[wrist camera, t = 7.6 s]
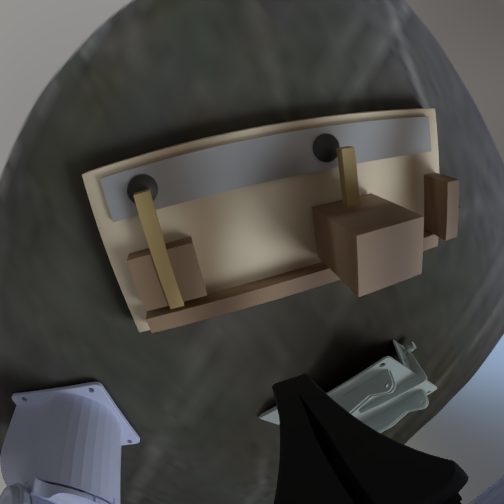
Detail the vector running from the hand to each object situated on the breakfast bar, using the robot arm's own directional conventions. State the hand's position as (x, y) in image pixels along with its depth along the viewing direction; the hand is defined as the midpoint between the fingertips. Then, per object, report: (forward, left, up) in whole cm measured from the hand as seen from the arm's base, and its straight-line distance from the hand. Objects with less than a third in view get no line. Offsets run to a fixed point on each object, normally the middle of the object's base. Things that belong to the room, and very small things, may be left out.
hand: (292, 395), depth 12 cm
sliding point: (+7, +4, -8) cm, 12 cm away
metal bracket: (+8, -16, -11) cm, 21 cm away
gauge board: (+4, +4, -10) cm, 11 cm away
